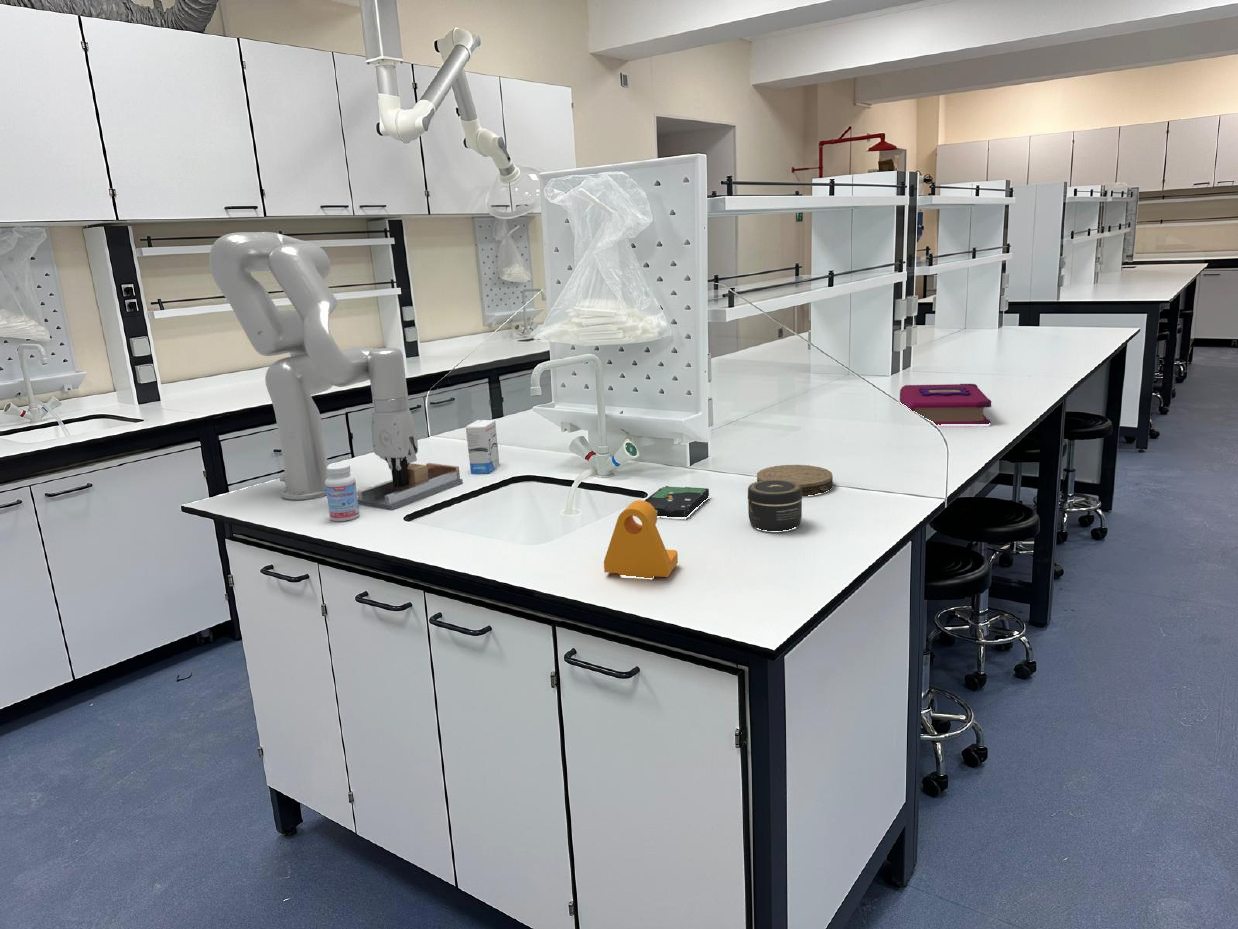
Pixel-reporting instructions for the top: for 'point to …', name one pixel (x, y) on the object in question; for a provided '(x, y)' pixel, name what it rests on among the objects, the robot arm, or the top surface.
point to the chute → (411, 488)
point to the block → (416, 474)
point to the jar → (775, 504)
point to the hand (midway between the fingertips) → (401, 485)
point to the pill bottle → (341, 493)
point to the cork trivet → (800, 477)
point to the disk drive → (677, 500)
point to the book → (947, 403)
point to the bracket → (639, 545)
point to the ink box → (482, 446)
